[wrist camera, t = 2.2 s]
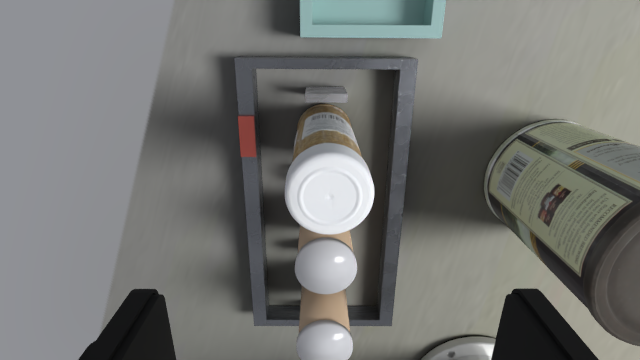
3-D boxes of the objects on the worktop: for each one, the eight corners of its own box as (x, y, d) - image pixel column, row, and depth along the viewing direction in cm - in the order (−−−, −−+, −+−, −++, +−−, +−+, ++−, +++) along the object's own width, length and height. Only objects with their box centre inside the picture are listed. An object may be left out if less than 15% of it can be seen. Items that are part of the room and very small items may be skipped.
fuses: (348, 188, 33) (358, 242, 25) (344, 292, 37) (351, 368, 29) (300, 187, 33) (294, 241, 25) (301, 292, 37) (296, 368, 29)
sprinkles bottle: (288, 143, 31) (269, 218, 19) (310, 92, 30) (305, 138, 17) (338, 164, 32) (351, 250, 20) (362, 116, 31) (392, 176, 18)
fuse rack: (411, 57, 29) (423, 61, 26) (387, 311, 38) (394, 337, 35) (239, 56, 29) (229, 59, 26) (257, 311, 38) (251, 337, 35)
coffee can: (595, 221, 34) (766, 339, 21) (481, 234, 35) (579, 357, 22) (613, 109, 31) (834, 170, 17) (484, 126, 31) (607, 196, 18)
